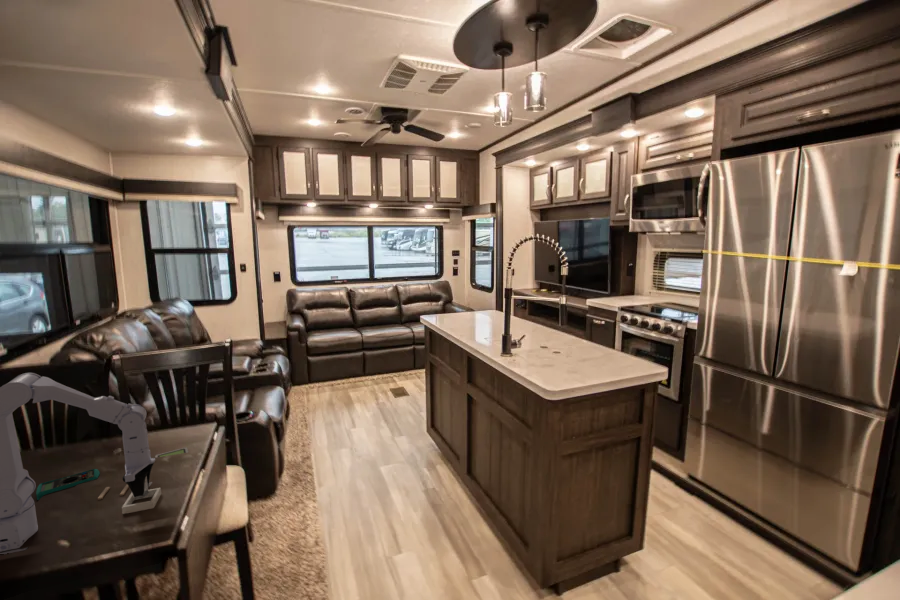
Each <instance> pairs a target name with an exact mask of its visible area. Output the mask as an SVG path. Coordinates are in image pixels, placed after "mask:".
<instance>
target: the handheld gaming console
mask: <svg viewBox="0 0 900 600" xmlns="http://www.w3.org/2000/svg"><path fill="white" fill-rule="evenodd" d="M188 453H189V449H188V447H182V448H178V449H174V450H170V451H166V452H163V453H157V454H155V456H154V458H155V459H156V458H161V457H168V456H174V455H181V454H188Z"/></svg>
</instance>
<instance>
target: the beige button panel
mask: <svg viewBox="0 0 900 600" xmlns="http://www.w3.org/2000/svg"><path fill="white" fill-rule="evenodd" d="M152 484H153V481H149V485H148V490H150V487H151V485H152ZM110 489H111V486H106V487H105V488H104V489H103V490H102V492H101V493H100V494H99V496H98V497H97V500H98V501H100V500H103V499H104V497H105V496H106V494H107V493H108V492H109V491H110ZM129 489H130V487H129V486H128V485H127V484H126V483H125V485H124V487H123V489H122V490H121V492H120V493H119V496H120V497H122V496H125V494H126V493H127V491H128V490H129ZM130 492H131V493H132V491H130ZM131 493H130V494H131Z"/></svg>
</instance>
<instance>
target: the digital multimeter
mask: <svg viewBox="0 0 900 600" xmlns="http://www.w3.org/2000/svg"><path fill="white" fill-rule="evenodd" d="M100 474H101V472H100V471H99V469H98V468H93V469H92V468H91V469H90V470H85V471H83V472H78V473H75V474H72V475H68V476H64V477H60V478H57V479H53V480H48V481H44V482H42V483H39V485H38V484H37V485H38V486H37V487H36V493H35V495H36V500H37V501H40V500H41V499H42V498H43V496H46V495H48V494H49V495H50V494H51V493H55V492H58V491H62V490H65V489H69V488H72V487H75V486H77V485H81V484H83V483H87V482H91V481H94V480H97V479H98V478H99V477H100Z"/></svg>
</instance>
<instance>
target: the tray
mask: <svg viewBox="0 0 900 600" xmlns="http://www.w3.org/2000/svg"><path fill="white" fill-rule="evenodd" d="M148 492H149V494H148V495H147V496H145V497H143V498H140V499H139V500H141V499H146V498H151V499H150V500H148V501H143V502H136V503H134V501H136V500H138V499H134V498H133V493H130V494H129V496H128V497H127V499H126V500H125V502H124V504H122V506H121V513H122V515H125V514H129V513H135V512H140V511H145V510H151V509H154V508H155V506H156V505H157V502H158V501H159V499H160V497H161V496H162V488H161V487H156V488H149V489H148Z"/></svg>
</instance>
